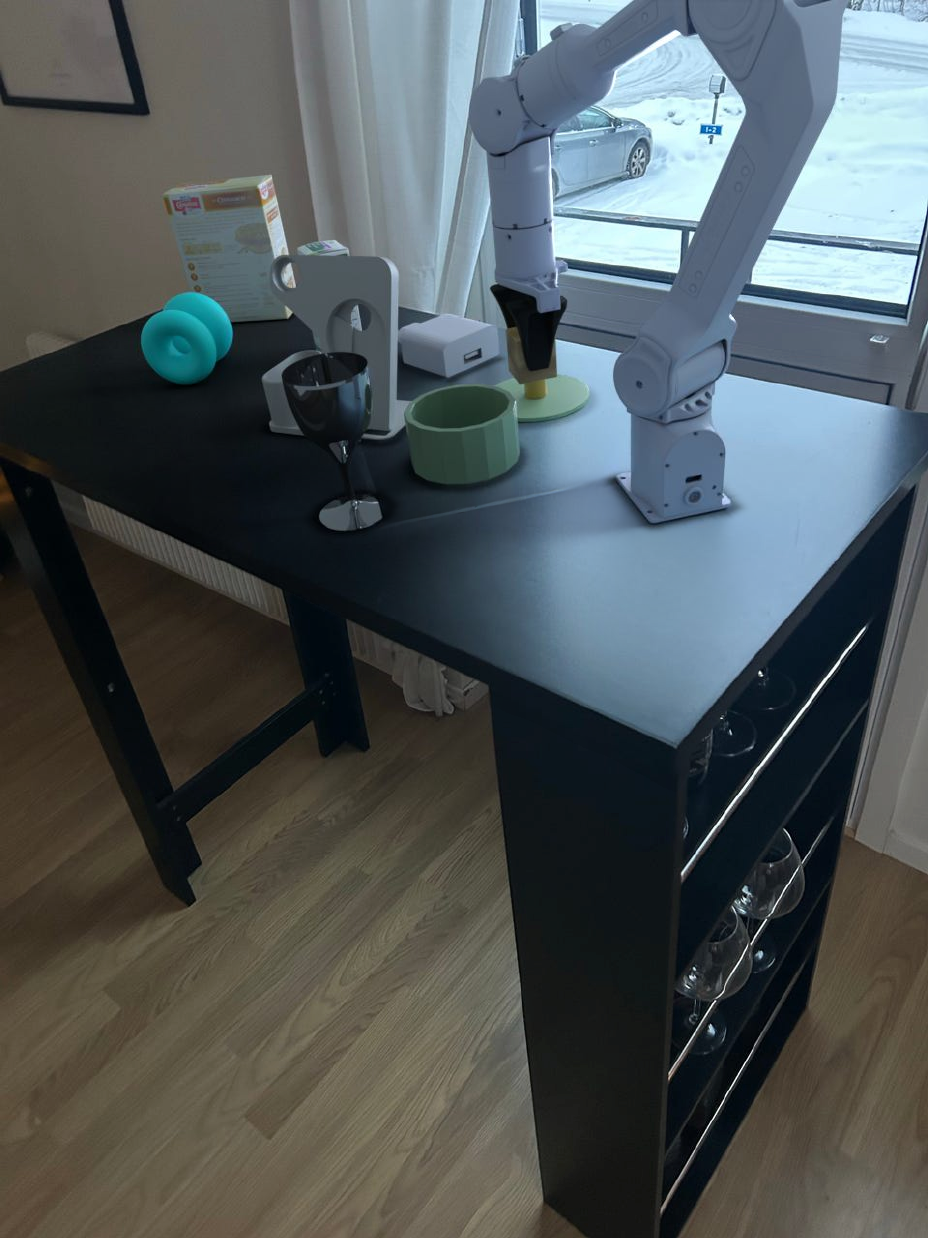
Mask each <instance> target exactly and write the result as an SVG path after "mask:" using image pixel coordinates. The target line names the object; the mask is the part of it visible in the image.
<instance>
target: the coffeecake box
mask: <svg viewBox="0 0 928 1238" xmlns="http://www.w3.org/2000/svg"><path fill="white" fill-rule="evenodd" d="M162 197H163V198H162V199H163V201H164V205H165V209H166V212H167V215H168V219H169V222H170V226H171V229H172V232H173V237H174V240H175V243H176V246H177V251H178V254H179V257H180V260H181V265H182V268H183V271H184V276H185V278H186V282H187V285H188V289H189V292H193V293H199V294H203V295H205V296H207V297H209V298H211V299H213V300H214V301H215V302H217V303H218V304H219V305H220V306H221V307H222V308H223V310H224V311H225V313H226V314H227V316H228V318H229V320H230V323H243V322H258V321H275V320H288V319H289V318H290V317H291V316H292V315H293V314H294V313H293V312H292V311H291V310H290V309H289V308H288V307H286V306H285V305H284V304H283V303H282V302H281V301H280V300H279V299H278V298H277V297H276V296H275V295H274V294H273V292H272V290H271V287H270V267H271V264H272V262H273V261H274V260H275V258H277V257H278V256H280V255H290V252H289V248H288V244H287V239H286V234H285V230H284V225H283V221H282V217H281V216H282V215H281V211H280V208H279V202H278V198H277V193H276V189H275V184H274V180H273V175H272V174H266V175H255V176H246V177H245V176H244V177H236V178H227V179H225V178H224V179H215V180H205V181H197V182H186V183H179V184H177V185H175V186H173V187H172V188H170V189H168V190H166V191H165V192H163V194H162ZM284 279H285V282H286V284H287V285H288V286H289V287H291V288H295V287H296V286H297V284H296V280H295V276H294V272H293V267H292V263H289V264H288V265H287V266H286V268H285V271H284Z"/></svg>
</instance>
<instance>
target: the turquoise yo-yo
mask: <svg viewBox="0 0 928 1238" xmlns="http://www.w3.org/2000/svg"><path fill="white" fill-rule="evenodd" d="M233 337H234V336H233V327H232V322H230V320H229V318H228V316H227V314H226V313H225V311H224V310H223V308H222V307H221V306H220V305H219V304H218V303H217V302H215V301H214V300H213V299H211V298H209V297H207V296H205V295H203V294H199V293H193V292H190V291H187V292H182V293H179V294H177V295H174V296H173V297H171V298H170V299H169V300H168V301H167V302H166V303H165V305H164V306H163V309H162V310H161V311H159V312H157V313H155V314H153V315H152V316H151V317H150V318H148V320H147V321H146V323H145V324H144V326H143V328H142V332H141V336H140V344H141V349H142V354H143V355H144V359H145V360H146V362H147V364H148V365H149V367H151V369H152V370H153V371H154V372H155V373H156V374H157V375H159V376H160V377H161V378H163V379H165V380H166V381H169V382H171V383H174V384H178V385H184V386H185V385H186V386H187V385H194V384H197V383H199V382H202V381H204V380H205V379H206V378H208V376H209V375H211V373H212V372H213V371H214V368H215V366H216V362H218V361H220V360H222V359H223V358H224V357H225V356H226V355H227V354H228V352H229V351H230V349H231V346H232V343H233Z"/></svg>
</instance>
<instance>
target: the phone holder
mask: <svg viewBox="0 0 928 1238" xmlns="http://www.w3.org/2000/svg"><path fill="white" fill-rule="evenodd" d="M289 263H291V264H292V263H293V264H295V265H296V267H297V268H298V281H297V283H296V287H295V288H291V287H289V286H288V285H287V284H286V282H285V279H284V271H285V268H286V266H287V265H288V264H289ZM399 281H400V276H399V270H398V267H397V265H396V264H395V263H394V262H393V261H392V260H391V259H389V258H388V257H383V256H374V255H373V256H372V255H370V256H369V255H365V256H364V255H349V256H328V255H298V254H289V255H280V256H278V257H277V258H275V260H274V261H273V262H272V264H271V267H270V287H271V290H272V292H273V294H274V295H275V296H276V297H277V298H278V299H279V300H280V301H281V302H282V303H283V304H284V305H285V306H286V307H288V308H289V309H290V310H291V311H292V312H293V313H292V314H293V315H294V316H296V317H297V318H298V319H299V320H300V321H301V322H302V323H304V325H305V326H306V327H307V328H309V329H310V330H311V331H313V332H314V333H316V334H317V336H318V337H319V339H320V342H321V352H319V351H316V349H315V350H313V349H311V350H310V349H307V350H303V351H299V352H295V353H293V354H291V355H290V356H288V357H286V358H285V359H284V360H282V361H280V362H279V363H278V364H277V365H275V366H274V367H272V368H271V369H269V370H267V372H265V373H264V374H263V375H262V377H261V383H262V386H263V391H264V394H265V398H266V402H267V407H268V410H269V413H270V419H271V420H270V421H269V423H268V425H269V429H270V431H271V432H273V433H278V434H279V433H280V434H286V435H287V434H288V435H295V436H296V435H297V436H304V437H306V436H305V435H304V434H303V433H302V432H301V430H300V429H299V427H298V425H297V423H296V421H295V419H294V417H293V414H292V412H291V410H290V407H289V404H288V401H287V397H286V394H285V391H284V386H283V382H282V377H281V375H282V372H283V371H284V369H285V368H286V367H288V366H289V365H291V364H292V363H294V362H296V361H298V360H301V359H304V358H306V357H310V356H313V355H318V354H323V353H331V352H350V353H356V354H359V355H362V356H364V357H365V358H366V359H367V361H368V365H369V370H370V376H371V384H372V416H371V421H370V424H369V426H368V428H367V430H375V431H384V432H388V433H387V434H386V435H379V434H378V435H377V434H369V433H364V435H363V436H362V438H361V439H364V440H365V439H366V440H374V441H384V440H389V439H391V438H393V437H395V436H396V435H397V434H398V433H399V432H400V431H401V430H402V429H403V428H404V427H406V424H405V418H404V412H405V410H406V408H407V406H408V404H409V403H410V402H412V401H413V400H403V399H397V397H398V395H397V394H398V392H397V391H398V389H397V388H398V347H399V346H398V344H399V343H398V331H399V295H400V294H399V292H400V291H399V290H400V289H399V288H400V282H399ZM357 305H358V306H359V305H363V306H365V307H366V308H367V309H368V311H369V313H370V323H369V325H368V326H367V328H366V329H364V330H363V329H362V331H361V330H358V329H357V328H355V326H354V325H353V323H352V319H351V315H352V311H353V309H354V308H355V307H356V306H357ZM313 332H312V333H313ZM361 442H362V440H360V441H359V442H358V443H361Z"/></svg>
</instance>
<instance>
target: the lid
mask: <svg viewBox="0 0 928 1238" xmlns="http://www.w3.org/2000/svg"><path fill="white" fill-rule="evenodd" d="M494 386H497V387H500V388H502V389H504V390H507V391H509V392H510V393H511V394H512V395H513V397H514V398H515V400H516V407H517V419H518V423H520V422H521V423H534V422H537V423H538V422H545V421H552V420H555V419H560V418H563V417H566V416H568V415H571V414H574V413H575V412H577V411H579V410H580V409H582V408H583V407H584V406H585V405H586V404H587V403H588V401H589V399H590V389H589V386H588V385H587V384H586V383H585V382H583V381H582V380H580V379H578V378H575V377H572V376H570V375H565V374H558V373H557V377H555V378H550V379H545V380H540V381H535V382H530V383H525V384H519V383H518V382H517V380H516V379H515V378H514V377H512V378H508V379H506V380H503V381H501V382H499V383H497V384H495V385H494Z"/></svg>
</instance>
